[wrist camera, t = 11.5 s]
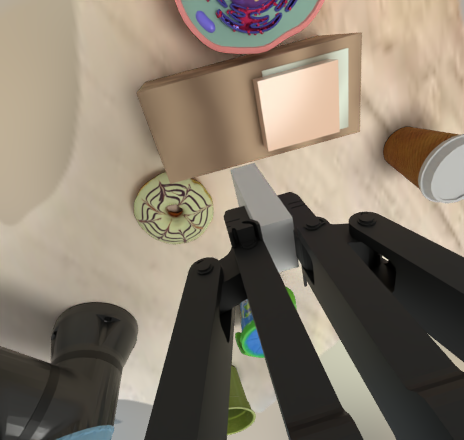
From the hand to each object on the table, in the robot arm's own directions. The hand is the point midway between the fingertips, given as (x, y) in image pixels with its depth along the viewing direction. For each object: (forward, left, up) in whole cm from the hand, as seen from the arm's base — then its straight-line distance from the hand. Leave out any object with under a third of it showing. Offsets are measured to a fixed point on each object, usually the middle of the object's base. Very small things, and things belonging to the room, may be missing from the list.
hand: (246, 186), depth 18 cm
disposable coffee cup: (+29, -13, -26) cm, 41 cm away
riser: (+5, 0, -26) cm, 26 cm away
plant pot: (-13, -60, -26) cm, 67 cm away
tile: (+5, 0, -14) cm, 15 cm away
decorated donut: (-9, -12, -26) cm, 30 cm away
